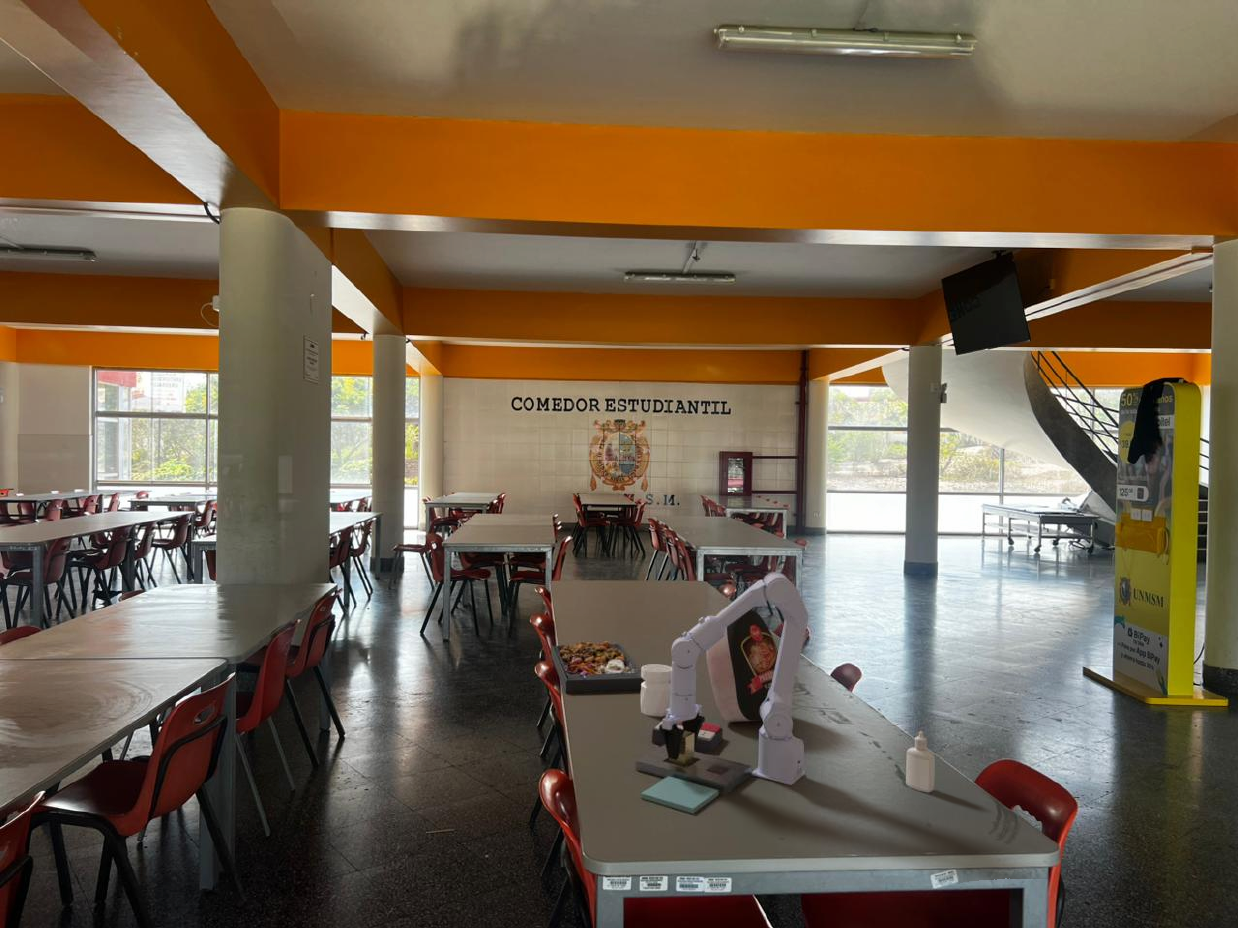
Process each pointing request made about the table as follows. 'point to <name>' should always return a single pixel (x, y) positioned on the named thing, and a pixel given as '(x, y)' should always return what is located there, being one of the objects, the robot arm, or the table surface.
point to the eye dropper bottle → (920, 766)
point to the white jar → (655, 689)
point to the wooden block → (685, 751)
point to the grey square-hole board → (697, 770)
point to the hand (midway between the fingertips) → (681, 753)
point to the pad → (680, 794)
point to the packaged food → (742, 667)
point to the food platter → (596, 668)
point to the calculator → (705, 741)
